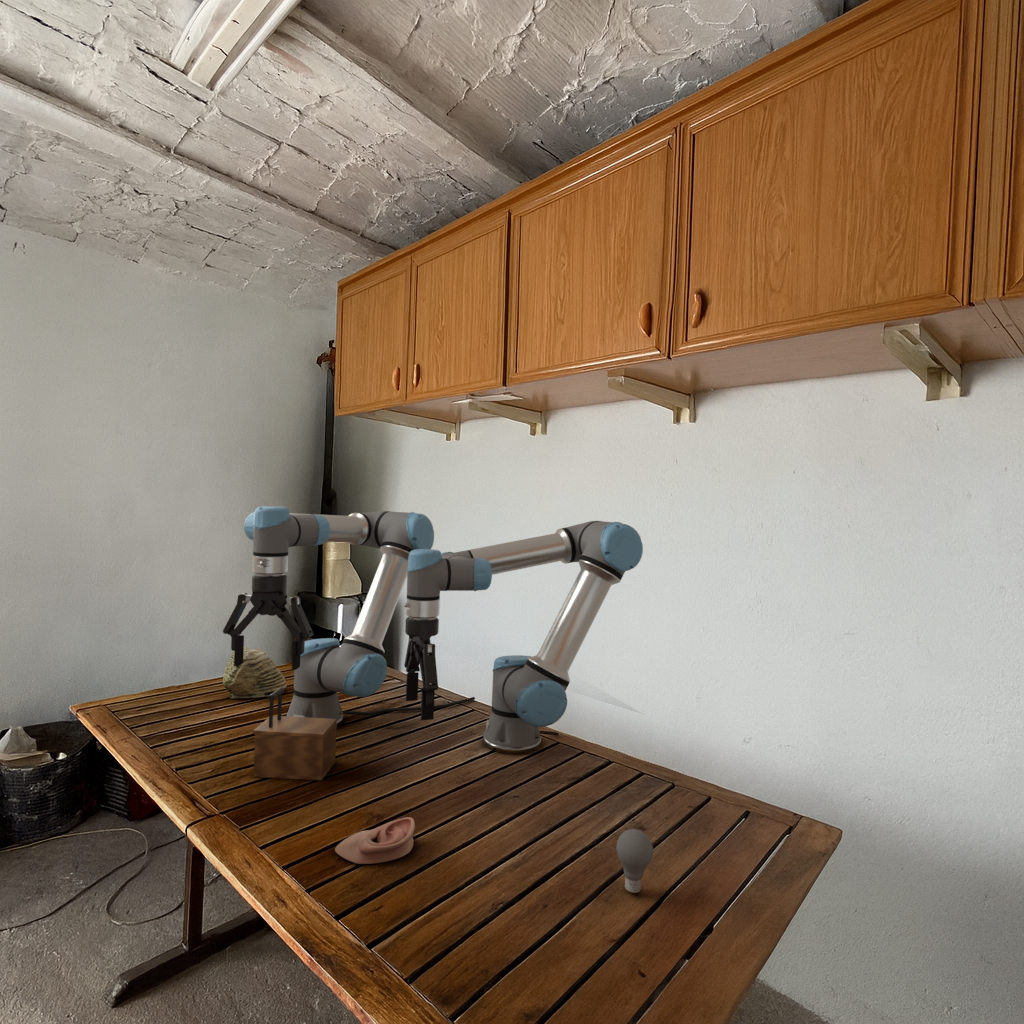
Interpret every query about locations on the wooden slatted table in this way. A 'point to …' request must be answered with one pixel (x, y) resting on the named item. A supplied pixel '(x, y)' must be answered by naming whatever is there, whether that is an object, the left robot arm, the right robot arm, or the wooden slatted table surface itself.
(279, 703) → the lid
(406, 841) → the anatomical model
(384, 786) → the wooden slatted table surface
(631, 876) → the light bulb
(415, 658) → the right robot arm
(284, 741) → the chest
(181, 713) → the wooden slatted table surface
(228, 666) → the fossil
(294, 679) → the left robot arm
